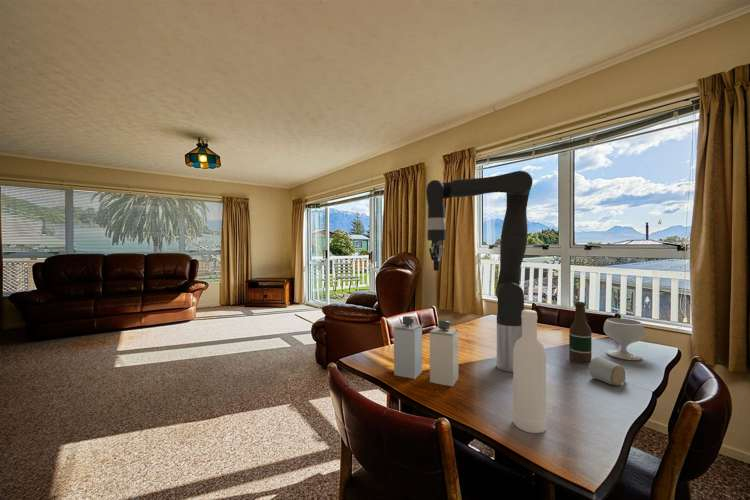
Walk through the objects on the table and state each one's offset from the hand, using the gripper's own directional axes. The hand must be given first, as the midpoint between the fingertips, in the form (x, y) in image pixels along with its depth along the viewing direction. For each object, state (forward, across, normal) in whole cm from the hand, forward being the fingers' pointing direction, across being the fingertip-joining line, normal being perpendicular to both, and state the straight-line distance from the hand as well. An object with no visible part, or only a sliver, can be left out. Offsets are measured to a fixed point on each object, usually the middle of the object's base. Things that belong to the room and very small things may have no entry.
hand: (436, 270), depth 134 cm
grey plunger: (+31, -20, +5) cm, 37 cm away
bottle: (+37, -38, -36) cm, 64 cm away
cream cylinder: (+37, +5, -60) cm, 71 cm away
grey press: (+37, -20, +5) cm, 42 cm away
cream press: (+37, -20, -8) cm, 43 cm away
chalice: (+37, +38, -70) cm, 88 cm away
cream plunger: (+31, -20, -9) cm, 38 cm away
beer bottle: (+37, +23, -53) cm, 69 cm away
